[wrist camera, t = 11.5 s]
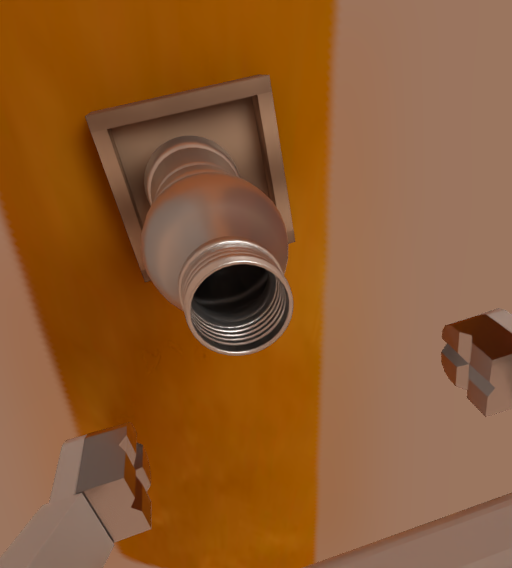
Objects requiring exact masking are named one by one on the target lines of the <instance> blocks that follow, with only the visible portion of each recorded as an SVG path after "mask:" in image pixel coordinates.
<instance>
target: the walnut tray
mask: <svg viewBox="0 0 512 568" xmlns="http://www.w3.org/2000/svg"><path fill="white" fill-rule="evenodd" d="M85 118H86V121H87V123H88V126H89V129H90V132H91V134H92V137H93V140H94V143H95V145H96V148H97V151H98V154H99V156H100V159H101V162H102V165H103V167H104V170H105V173H106V176H107V178H108V181H109V184H110V187H111V190H112V192H113V195H114V198H115V201H116V203H117V206H118V209H119V212H120V214H121V217H122V220H123V223H124V225H125V228H126V231H127V234H128V236H129V239H130V242H131V245H132V248H133V250H134V253H135V256H136V259H137V261H138V264H139V267H140V270H141V272H142V275H143V278H144V281H145V282H148V281H151V279H150V277H149V276H148V274H147V272H146V269H145V266H144V264H143V261H142V254H141V248H140V247H141V233H142V229H143V226H144V222H145V219H146V215H147V213H148V211H149V209H150V207H151V205H150V203H149V201H148V198H147V196H146V193H145V186H144V176H145V170H146V166H147V163H148V161H149V160H150V158H151V156H152V154H153V153H154V152H155V151H156V150H157V148H158V147H160V146H161V145H162V144H164V143H165V142H167V141H169V140H171V139H173V138H176V137H181V136H199V137H204V138H206V139H209V140H211V141H213V142H215V143H216V144H218V145H219V146H221V147H222V148H223V149H224V150H225V151H226V152H227V153H228V154H229V155H230V157H231V158H232V159H233V161H234V163H235V165H236V167H237V169H238V172H239V176H240V178H242V179H244V180H246V181H248V182H249V183H251V184H252V185H254V186H255V187H257V188H258V189H259V190H261V191H262V192H263V193H264V194H265V195H266V196H267V197H268V198H269V199H271V200H272V202H273V203H274V205H275V206H276V208H277V209H278V210H279V212H280V214H281V216H282V219H283V221H284V224H285V227H286V232H287V237H288V244H289V243H292V242H295V238H294V231H293V225H292V218H291V212H290V205H289V199H288V193H287V186H286V180H285V173H284V167H283V160H282V154H281V147H280V141H279V135H278V128H277V122H276V115H275V109H274V102H273V96H272V89H271V83H270V77H269V75H255V76H251V77H246V78H242V79H237V80H233V81H228V82H224V83H219V84H215V85H210V86H206V87H201V88H197V89H192V90H188V91H184V92H179V93H175V94H170V95H166V96H161V97H157V98H152V99H148V100H143V101H139V102H134V103H130V104H125V105H121V106H116V107H112V108H107V109H103V110H98V111H94V112H90V113H89V114H87V115H86V116H85Z"/></svg>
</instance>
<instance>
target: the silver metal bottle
mask: <svg viewBox="0 0 512 568" xmlns="http://www.w3.org/2000/svg"><path fill="white" fill-rule="evenodd" d="M144 186H145V193H146V196H147V198H148V201H149V203H150V205H151V207H150V209H149V211H148V213H147V215H146V219H145V222H144V226H143V229H142V233H141V247H140V248H141V254H142V261H143V264H144V266H145V269H146V272H147V274H148V276H149V277H150V279H151V281H152V282H153V284H154V285H155V287H156V288H157V289H158V290H159V292H160V293H161V294H162V295H163V296H164V297H165V298H166V299H167V300H168V301H169V302H170V303H172V304H173V305H174V306H176V307H177V308H179V309H180V310H183V311H184V312H185V318H186V321H187V324H188V326H189V328H190V330H191V332H192V333H193V335H194V336H195V338H196V339H197V340H198V341H199V342H200V343H201V344H202V345H204V346H205V347H207V348H208V349H210V350H212V351H215V352H217V353H220V354H225V355H234V356H240V355H248V354H252V353H255V352H258V351H260V350H262V349H265V348H267V347H268V346H270V345H271V344H272V343H274V342H275V341H276V340H277V339H278V338H279V337H280V336H281V335H282V334H283V333H284V331H285V330H286V328H287V327H288V324H289V322H290V320H291V317H292V312H293V297H292V292H291V288H290V286H289V284H288V282H287V280H286V278H285V277H284V273H285V269H286V265H287V260H288V237H287V232H286V227H285V224H284V221H283V219H282V216H281V214H280V212H279V210H278V209H277V208H276V206H275V205H274V203H273V202H272V200H271V199H269V198H268V197H267V196H266V195H265V194H264V193H263V192H262V191H261V190H259V189H258V188H257V187H255V186H254V185H252V184H251V183H249V182H248V181H246V180H244V179H242V178H240V176H239V172H238V169H237V167H236V165H235V163H234V161H233V159H232V158H231V157H230V155H229V154H228V153H227V152H226V151H225V150H224V149H223V148H222V147H221V146H219V145H218V144H216V143H215V142H213V141H211V140H209V139H206V138H204V137H199V136H181V137H176V138H173V139H171V140H169V141H167V142H165V143H164V144H162V145H161V146H160V147H158V148H157V150H156V151H155V152H154V153H153V154H152V156H151V158H150V160H149V161H148V163H147V166H146V170H145V176H144Z"/></svg>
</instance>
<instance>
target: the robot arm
mask: <svg viewBox="0 0 512 568" xmlns="http://www.w3.org/2000/svg"><path fill="white" fill-rule="evenodd" d="M442 339H443V340H444V341H445V342H447V345H446V346H445V347H444V349H443V350H442V352H441V355H442V356H441V357H442V360H441V362H442V365H443V368H444V371H445V373H446V374H447V376H448V378H449V379H450V380H451V381H452V382H453V383H454V385H455V386H457V387H460V388H462V389H465V390H467V398H468V399H469V400H470V401H471V402H472V403H473V404H474V406H476V408H478V410H479V411H480V412H481V413H482V414H483V415H484V416H485V417H487V416H490V415H493V414H497V413H500V412H503V411H506V410H509V409H512V314H510V313H509V312H508V311H506V310H504V309H500V308H498V309H494V310H491V311H488V312H485V313H482V314H480V315H477V316H474V317H470V318H467V319H464V320H461V321H457V322H454V323H451V324H448V325H445V327H444V329H443V331H442ZM150 486H151V473H150V466H149V461H148V458H147V454H146V451H145V449H144V447H143V445H141V444H139V443H137V432H136V430H135V428H134V427H133V425H132V423H130V422H128V423H124V424H121V425H117V426H113V427H110V428H106V429H103V430H99V431H96V432H92V433H89V434H87V435H83V436H80V437H76V438H72V439H69V440H66V441H65V443H64V444H63V445H62V448H61V452H60V457H59V461H58V465H57V470H56V474H55V478H54V483H53V487H52V492H51V496H50V500H49V503H48V504H45V505H43V506H41V508H40V509H39V510H38V511H37V513H36V514H35V515H34V516H33V517H32V519H31V520H30V521H29V523H28V524H27V525H26V526H25V527H24V529H23V530H22V531H21V532H20V534H19V535H18V536H17V537H16V538H15V540H14V541H13V542H12V543H11V545H10V546H9V547H8V548H7V550H6V551H5V552H4V553H3V555H2V556H1V557H0V568H103V567H104V565H105V563H106V560H107V559H108V557H109V555H110V553H111V551H112V549H113V547H114V542H117V541H120V540H122V539H125V538H128V537H131V536H133V535H136V534H139V533H142V532H144V531H147V530H150V529H151V501H150V499H149V496H148V494H147V490H148V489H149V487H150ZM303 568H512V493H509V494H506V495H503V496H501V497H498V498H495V499H492V500H490V501H487V502H484V503H481V504H478V505H476V506H473V507H470V508H467V509H465V510H462V511H459V512H456V513H453V514H451V515H448V516H445V517H442V518H440V519H437V520H434V521H432V522H428V523H426V524H423V525H420V526H417V527H415V528H412V529H409V530H407V531H403V532H401V533H398V534H395V535H392V536H390V537H387V538H384V539H381V540H379V541H376V542H373V543H370V544H368V545H365V546H362V547H359V548H356V549H353V550H351V551H348V552H345V553H342V554H340V555H337V556H334V557H331V558H329V559H326V560H323V561H320V562H317V563H315V564H312V565H309V566H306V567H303Z"/></svg>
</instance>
